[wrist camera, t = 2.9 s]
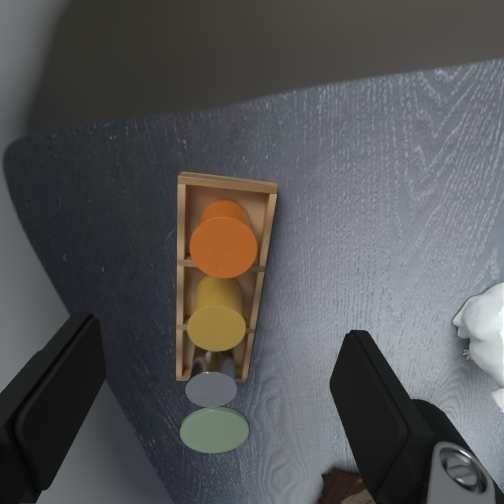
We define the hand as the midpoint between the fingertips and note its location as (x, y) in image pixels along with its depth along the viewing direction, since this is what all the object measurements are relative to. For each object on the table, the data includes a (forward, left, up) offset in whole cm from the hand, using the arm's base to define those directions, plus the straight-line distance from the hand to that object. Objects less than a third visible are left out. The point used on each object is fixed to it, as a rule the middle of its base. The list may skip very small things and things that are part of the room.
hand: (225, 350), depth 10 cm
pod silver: (0, -14, -15) cm, 20 cm away
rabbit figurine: (+28, -9, -15) cm, 33 cm away
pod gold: (0, -7, -15) cm, 16 cm away
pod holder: (0, -7, -15) cm, 16 cm away
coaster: (+1, -29, -15) cm, 33 cm away
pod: (0, 0, -15) cm, 15 cm away
